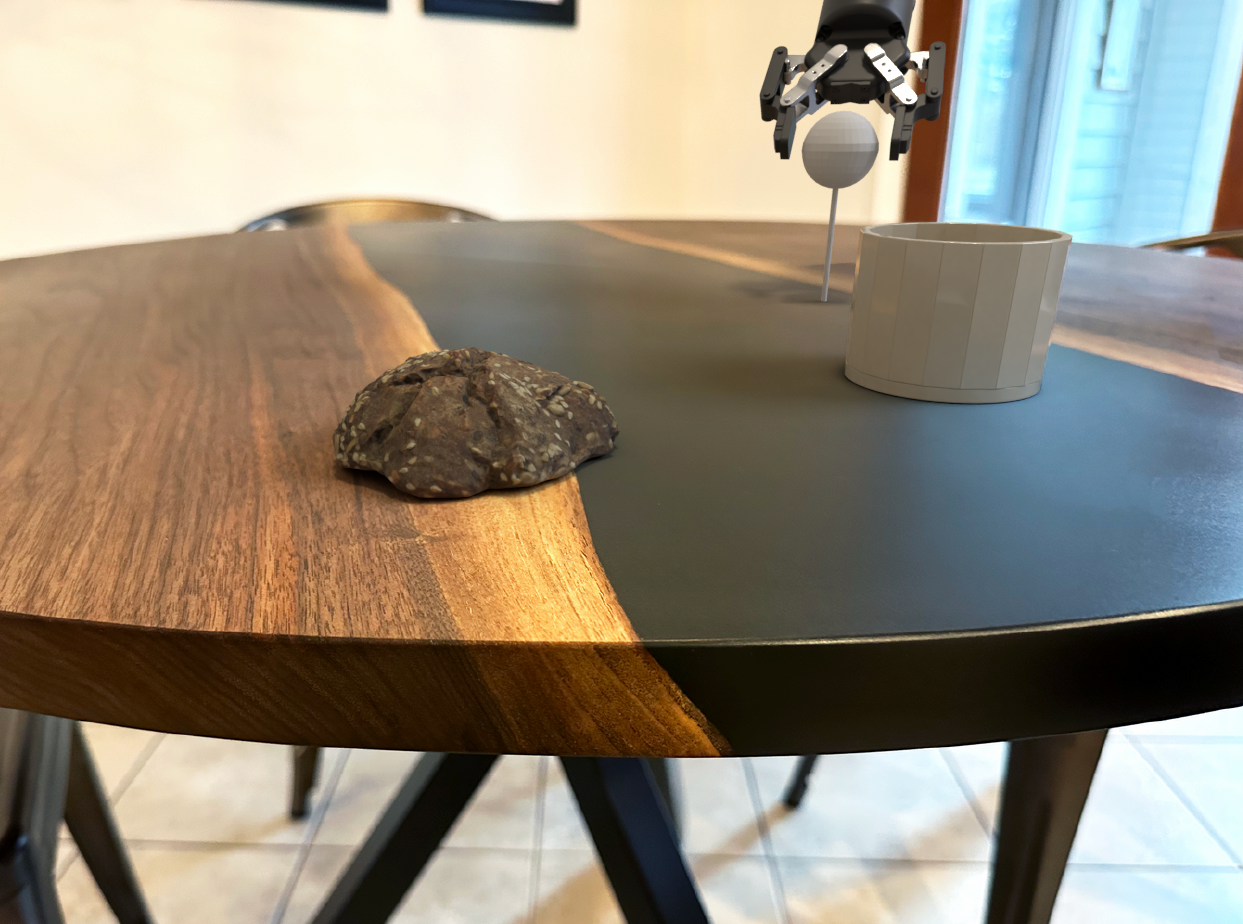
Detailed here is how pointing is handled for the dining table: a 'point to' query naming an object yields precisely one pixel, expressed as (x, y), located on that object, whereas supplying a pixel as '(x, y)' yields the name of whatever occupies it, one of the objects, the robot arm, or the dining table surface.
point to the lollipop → (838, 161)
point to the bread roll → (472, 424)
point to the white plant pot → (954, 309)
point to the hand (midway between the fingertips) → (838, 152)
